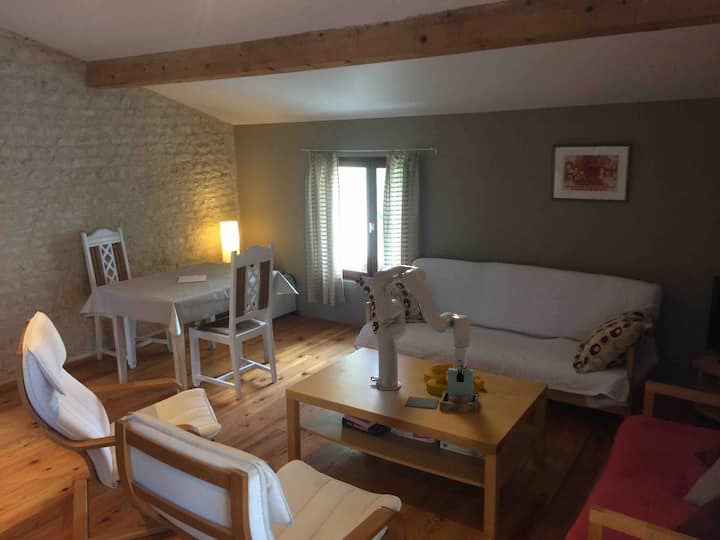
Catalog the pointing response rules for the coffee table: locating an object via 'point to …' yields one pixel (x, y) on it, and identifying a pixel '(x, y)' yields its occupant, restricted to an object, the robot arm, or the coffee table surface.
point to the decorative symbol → (444, 380)
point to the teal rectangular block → (460, 384)
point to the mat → (422, 402)
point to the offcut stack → (459, 399)
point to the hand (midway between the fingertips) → (461, 378)
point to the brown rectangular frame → (458, 404)
